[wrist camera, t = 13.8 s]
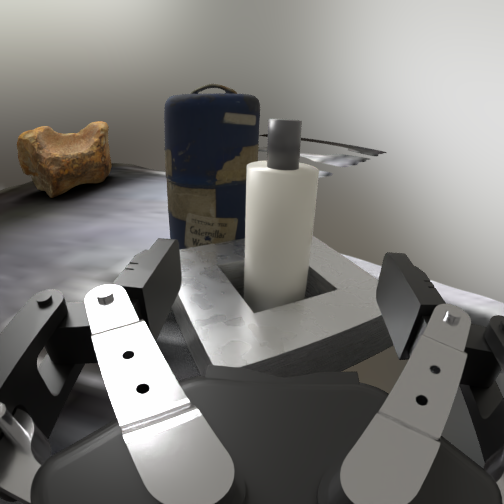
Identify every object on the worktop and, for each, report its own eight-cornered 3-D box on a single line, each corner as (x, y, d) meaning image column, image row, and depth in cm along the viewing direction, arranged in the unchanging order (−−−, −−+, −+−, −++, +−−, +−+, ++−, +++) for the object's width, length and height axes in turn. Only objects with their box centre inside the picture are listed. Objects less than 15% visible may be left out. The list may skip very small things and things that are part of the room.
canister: (220, 226, 42) (220, 87, 34) (272, 250, 36) (281, 85, 28) (156, 246, 36) (147, 87, 28) (203, 279, 30) (199, 79, 22)
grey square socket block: (221, 417, 16) (217, 373, 15) (165, 292, 28) (160, 252, 26) (394, 344, 22) (409, 302, 20) (299, 264, 33) (302, 228, 31)
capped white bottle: (259, 347, 22) (270, 121, 15) (234, 312, 26) (236, 117, 19) (311, 330, 24) (337, 125, 17) (282, 299, 27) (296, 118, 21)
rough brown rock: (15, 214, 49) (6, 140, 42) (24, 189, 61) (18, 129, 54) (120, 194, 61) (119, 123, 54) (109, 174, 73) (108, 116, 65)
